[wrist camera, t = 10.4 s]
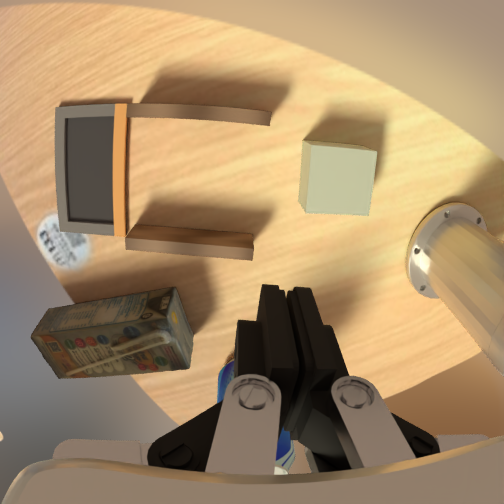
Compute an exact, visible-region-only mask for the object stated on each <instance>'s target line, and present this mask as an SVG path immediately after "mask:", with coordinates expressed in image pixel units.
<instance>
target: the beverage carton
mask: <svg viewBox="0 0 504 504" xmlns="http://www.w3.org/2000/svg"><path fill="white" fill-rule="evenodd" d="M193 336H194V335H193V332H192V330H191V328H190V325H189V323H188V320H187V318H186V315H185V312H184V309H183V306H182V303H181V301H180V298H179V295H178V292H177V290H176V288H175V287H171V288H165V289H160V290H154V291H149V292H143V293H137V294H131V295H126V296H120V297H114V298H108V299H102V300H96V301H91V302H85V303H79V304H73V305H67V306H62V307H56V308H49V309H48V310H47V312H46V313H45V315H44V316H43V318H42V319H41V320H40V322H39V324H38V325H37V326H36V328H35V330H34V331H33V333H32V335H31V339H32V340H33V342H34V343H35V345H36V346H37V347H38V349H39V351H40V352H41V353H42V355H43V357H44V359H45V360H46V362H47V363H48V364H49V365H50V366H51V368H52V370H53V371H54V373H55V374H56V375H57V377H58V378H59V379H60V378H88V377H104V376H116V375H130V374H144V373H153V372H163V371H175V370H186V369H189V368H190V363H191V354H192V350H193Z"/></svg>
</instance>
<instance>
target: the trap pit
mask: <svg viewBox="0 0 504 504" xmlns="http://www.w3.org/2000/svg"><path fill="white" fill-rule="evenodd" d="M126 111H127V104H96V105H78V106H65V107H56V110H55V175H56V193H57V207H58V218H59V227H60V231H61V232H73V233H85V234H98V235H110V236H122V237H125V236H126V235H127V226H126V150H127V127H128V117H126Z"/></svg>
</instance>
